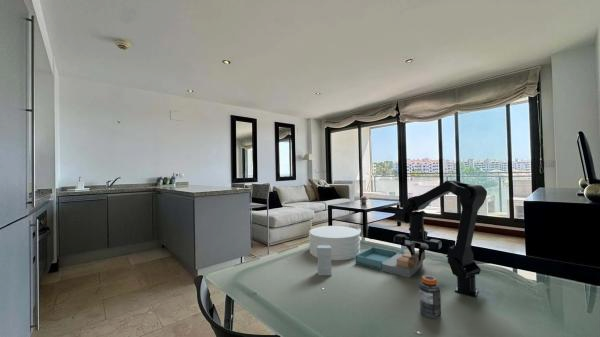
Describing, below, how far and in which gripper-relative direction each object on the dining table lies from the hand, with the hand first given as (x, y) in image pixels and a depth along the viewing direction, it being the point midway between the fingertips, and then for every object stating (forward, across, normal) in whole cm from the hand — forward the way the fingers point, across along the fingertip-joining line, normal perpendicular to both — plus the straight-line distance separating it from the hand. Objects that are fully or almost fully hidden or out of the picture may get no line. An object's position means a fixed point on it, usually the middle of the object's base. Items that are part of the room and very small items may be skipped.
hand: (417, 260), depth 113 cm
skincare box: (+5, +30, +28) cm, 42 cm away
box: (+5, +19, 0) cm, 20 cm away
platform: (+5, +6, 0) cm, 8 cm away
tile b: (+2, +4, -3) cm, 6 cm away
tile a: (+2, +4, +4) cm, 6 cm away
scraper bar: (+1, 0, 0) cm, 1 cm away
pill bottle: (+5, -14, +32) cm, 35 cm away
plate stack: (+5, +44, 0) cm, 45 cm away
